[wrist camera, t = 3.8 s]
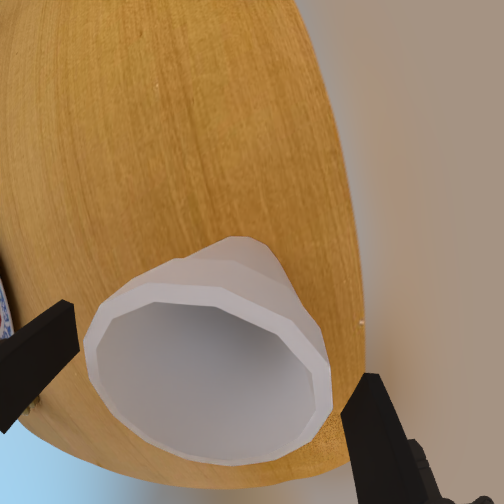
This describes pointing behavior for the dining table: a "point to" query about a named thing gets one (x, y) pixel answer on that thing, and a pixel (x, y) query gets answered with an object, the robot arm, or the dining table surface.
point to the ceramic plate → (5, 316)
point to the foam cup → (212, 357)
